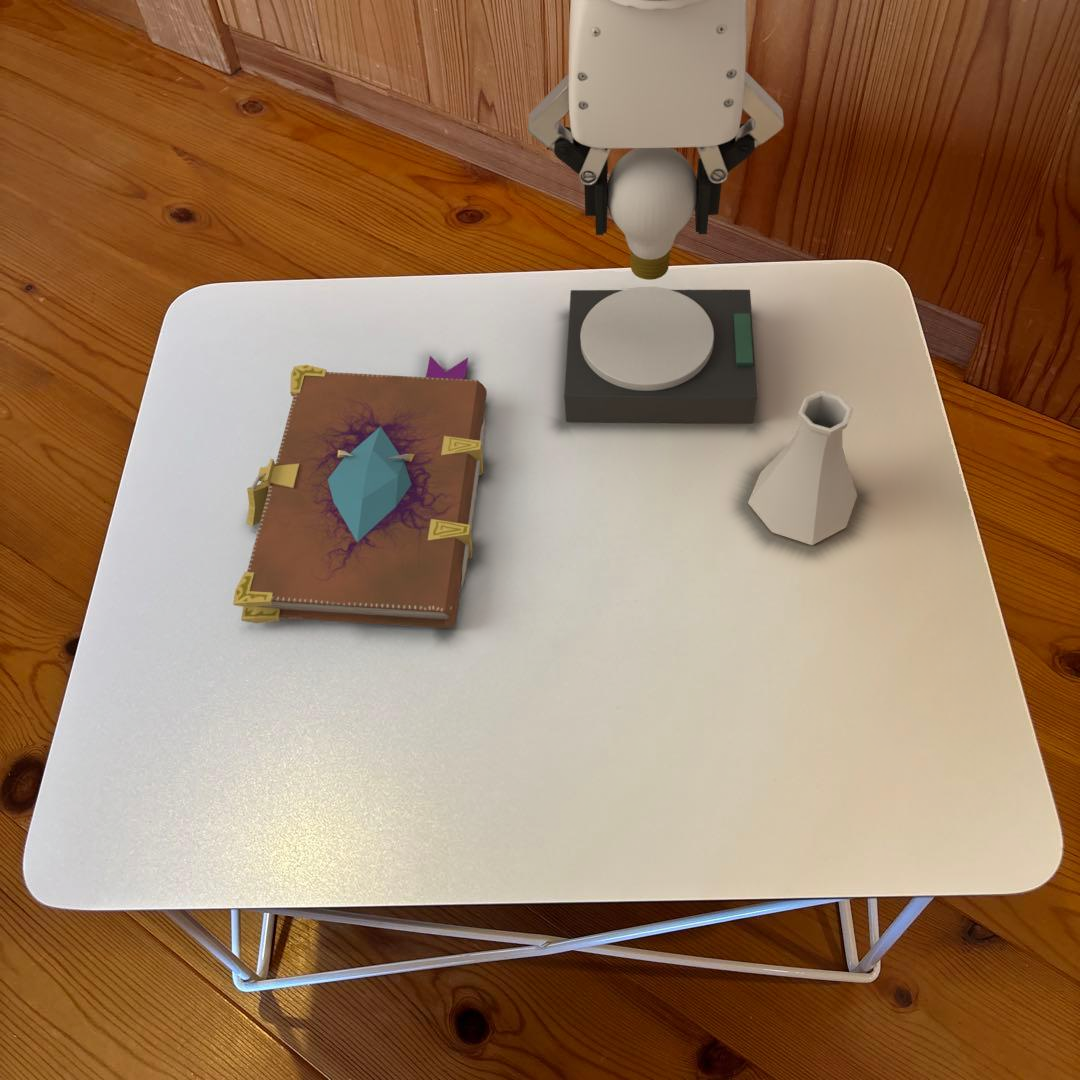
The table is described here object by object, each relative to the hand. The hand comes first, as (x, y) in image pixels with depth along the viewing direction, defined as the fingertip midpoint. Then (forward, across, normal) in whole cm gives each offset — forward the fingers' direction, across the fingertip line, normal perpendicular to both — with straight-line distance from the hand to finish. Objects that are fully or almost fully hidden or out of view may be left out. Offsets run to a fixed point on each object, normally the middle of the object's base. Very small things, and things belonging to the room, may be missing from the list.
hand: (651, 218), depth 69 cm
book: (+15, +20, +12) cm, 27 cm away
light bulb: (+5, 0, 0) cm, 5 cm away
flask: (+15, -11, +12) cm, 22 cm away
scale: (+15, -1, 0) cm, 15 cm away
